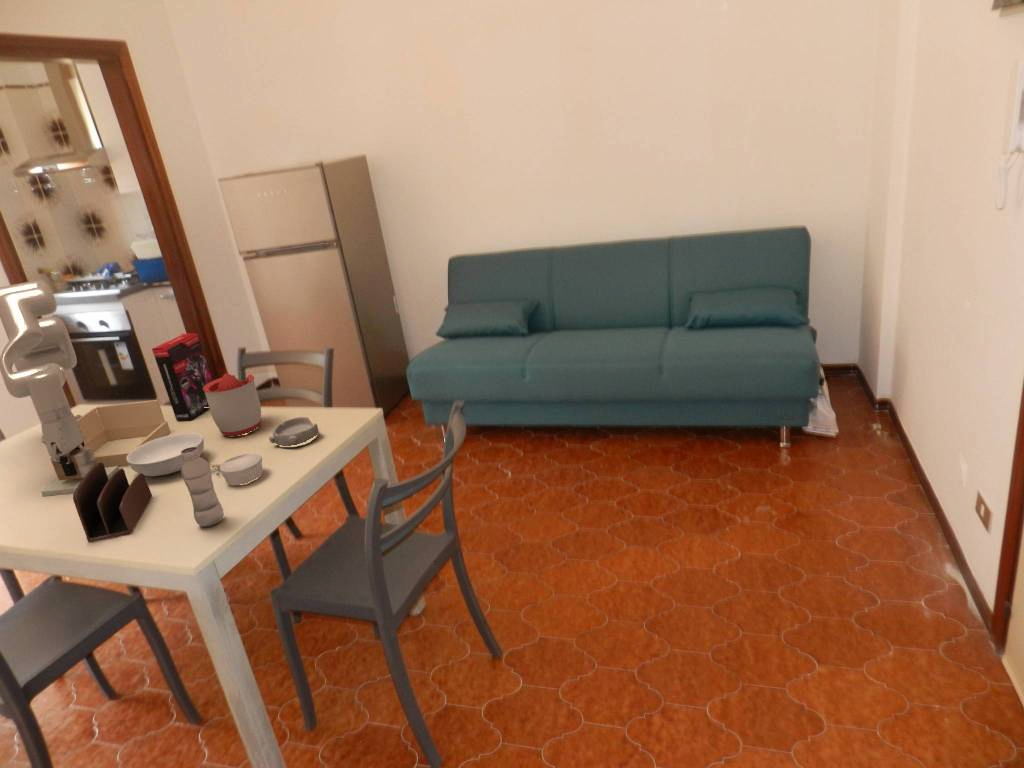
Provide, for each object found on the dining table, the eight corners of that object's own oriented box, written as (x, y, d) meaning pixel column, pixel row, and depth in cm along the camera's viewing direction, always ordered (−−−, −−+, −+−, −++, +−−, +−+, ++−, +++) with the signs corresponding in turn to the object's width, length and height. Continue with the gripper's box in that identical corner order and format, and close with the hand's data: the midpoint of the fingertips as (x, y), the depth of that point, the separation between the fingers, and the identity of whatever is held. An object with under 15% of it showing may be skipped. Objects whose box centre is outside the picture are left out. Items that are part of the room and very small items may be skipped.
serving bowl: (224, 453, 210) (217, 432, 208) (172, 487, 192) (164, 465, 189) (171, 450, 217) (165, 430, 215) (116, 483, 199) (109, 461, 197)
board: (68, 476, 208) (66, 472, 207) (119, 470, 207) (118, 466, 206) (42, 496, 196) (40, 491, 196) (97, 490, 196) (95, 485, 195)
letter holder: (88, 543, 168) (68, 492, 163) (114, 504, 186) (97, 458, 181) (131, 534, 170) (113, 484, 165) (153, 496, 188) (137, 450, 183)
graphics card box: (191, 421, 239) (168, 347, 230) (174, 422, 241) (150, 348, 232) (220, 402, 255) (199, 332, 246) (203, 403, 257) (182, 333, 247)
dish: (302, 427, 222) (298, 413, 220) (330, 434, 214) (326, 419, 212) (264, 446, 211) (260, 431, 210) (292, 454, 203) (288, 439, 202)
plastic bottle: (202, 518, 173) (179, 446, 166) (229, 514, 173) (207, 442, 166) (193, 532, 167) (169, 458, 160) (221, 527, 167) (198, 453, 160)
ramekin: (255, 465, 199) (250, 449, 197) (273, 475, 191) (268, 458, 189) (217, 481, 192) (212, 464, 190) (234, 493, 184) (229, 475, 182)
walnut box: (69, 472, 203) (61, 450, 201) (98, 468, 203) (91, 447, 200) (59, 480, 199) (50, 458, 196) (89, 477, 198) (81, 455, 196)
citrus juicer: (278, 418, 232) (264, 362, 225) (249, 440, 217) (232, 381, 210) (238, 418, 236) (223, 364, 229) (206, 441, 221) (189, 383, 214)
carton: (107, 439, 233) (95, 406, 229) (170, 432, 232) (160, 399, 228) (64, 472, 210) (50, 437, 206) (134, 464, 210) (121, 429, 205)
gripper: (61, 403, 202) (81, 458, 208) (22, 427, 186) (46, 486, 192) (85, 400, 202) (106, 456, 208) (49, 424, 186) (72, 483, 192)
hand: (77, 470), depth 200 cm, fingers closed on walnut box, 5 cm apart
